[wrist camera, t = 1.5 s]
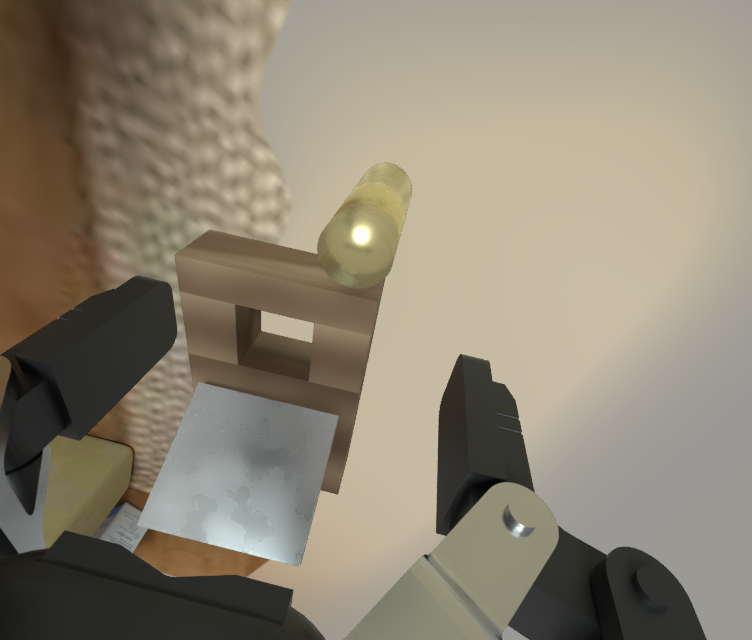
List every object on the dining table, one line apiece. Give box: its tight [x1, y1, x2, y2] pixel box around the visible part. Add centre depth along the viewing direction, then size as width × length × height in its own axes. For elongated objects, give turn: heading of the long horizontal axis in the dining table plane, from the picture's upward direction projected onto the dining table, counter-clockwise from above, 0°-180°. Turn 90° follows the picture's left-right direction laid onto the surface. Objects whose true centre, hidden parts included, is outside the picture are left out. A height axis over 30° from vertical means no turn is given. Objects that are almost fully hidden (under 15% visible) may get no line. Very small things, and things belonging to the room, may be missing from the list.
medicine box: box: [92, 502, 148, 553], centre depth 48 cm, size 8×4×9 cm, turn 128°
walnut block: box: [175, 230, 385, 494], centre depth 29 cm, size 20×12×4 cm, turn 170°
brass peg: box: [317, 163, 412, 288], centre depth 19 cm, size 3×3×9 cm
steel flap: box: [136, 382, 339, 567], centre depth 25 cm, size 9×10×1 cm
